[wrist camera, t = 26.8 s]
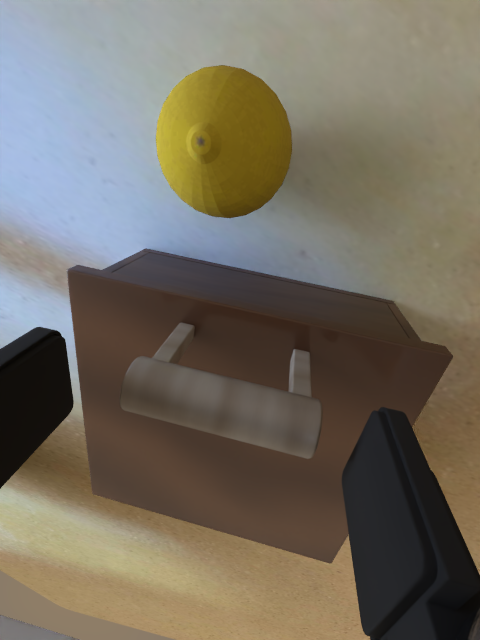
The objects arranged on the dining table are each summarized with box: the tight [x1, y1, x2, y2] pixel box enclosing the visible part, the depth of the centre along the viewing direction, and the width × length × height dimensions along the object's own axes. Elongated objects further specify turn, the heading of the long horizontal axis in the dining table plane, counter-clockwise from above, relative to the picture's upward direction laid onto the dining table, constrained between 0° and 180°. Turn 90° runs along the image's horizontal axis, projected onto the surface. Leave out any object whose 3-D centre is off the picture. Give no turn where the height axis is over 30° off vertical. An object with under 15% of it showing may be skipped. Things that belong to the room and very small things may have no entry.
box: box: [103, 249, 421, 341], centre depth 20 cm, size 15×16×7 cm
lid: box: [67, 265, 453, 563], centre depth 14 cm, size 16×16×6 cm
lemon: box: [156, 65, 292, 218], centre depth 13 cm, size 6×6×8 cm
